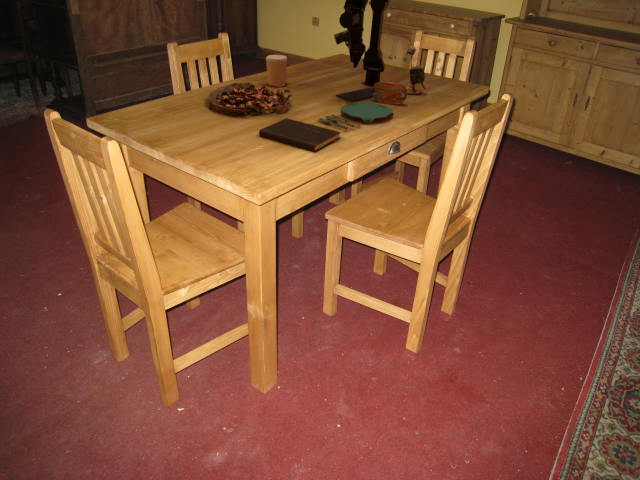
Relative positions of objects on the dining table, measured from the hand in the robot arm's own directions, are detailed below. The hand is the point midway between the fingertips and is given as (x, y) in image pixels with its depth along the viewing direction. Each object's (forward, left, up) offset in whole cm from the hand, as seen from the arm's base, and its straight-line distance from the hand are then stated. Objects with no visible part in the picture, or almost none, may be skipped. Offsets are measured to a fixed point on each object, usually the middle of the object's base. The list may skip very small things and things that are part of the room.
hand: (353, 64), depth 213 cm
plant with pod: (-28, +10, -14) cm, 32 cm away
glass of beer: (+15, -33, -14) cm, 39 cm away
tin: (-8, +14, -14) cm, 21 cm away
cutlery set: (+16, +21, -14) cm, 30 cm away
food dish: (+41, -16, -14) cm, 46 cm away
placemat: (-6, 0, -14) cm, 15 cm away
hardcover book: (+47, +25, -14) cm, 55 cm away
